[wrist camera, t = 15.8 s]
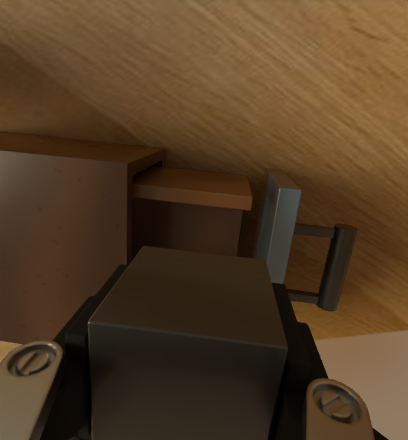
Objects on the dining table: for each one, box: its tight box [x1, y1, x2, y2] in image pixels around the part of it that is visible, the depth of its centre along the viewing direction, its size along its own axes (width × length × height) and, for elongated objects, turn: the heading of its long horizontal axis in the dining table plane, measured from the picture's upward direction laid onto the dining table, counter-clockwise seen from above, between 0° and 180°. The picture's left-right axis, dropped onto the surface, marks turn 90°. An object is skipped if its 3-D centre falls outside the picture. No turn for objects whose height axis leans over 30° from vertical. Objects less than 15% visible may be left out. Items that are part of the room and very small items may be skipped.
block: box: [88, 246, 288, 440], centre depth 9 cm, size 4×4×4 cm
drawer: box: [131, 166, 358, 311], centre depth 21 cm, size 18×11×7 cm, turn 85°
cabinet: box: [0, 132, 165, 344], centre depth 22 cm, size 15×13×9 cm
